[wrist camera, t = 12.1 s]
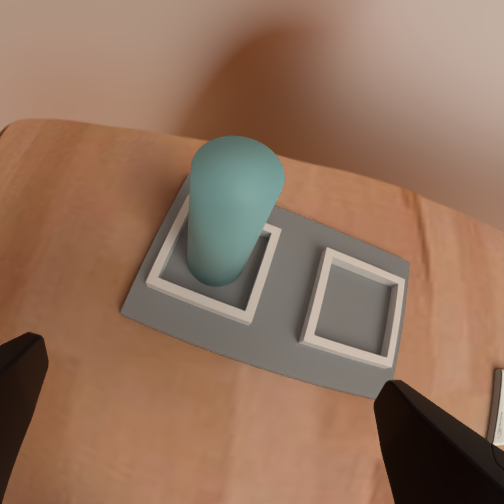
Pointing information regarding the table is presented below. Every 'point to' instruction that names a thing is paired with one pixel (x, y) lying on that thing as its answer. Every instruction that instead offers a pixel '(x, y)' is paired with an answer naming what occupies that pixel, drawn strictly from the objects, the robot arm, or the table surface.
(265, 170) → the pin
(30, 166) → the table surface
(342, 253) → the pin board
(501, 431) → the hard drive
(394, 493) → the robot arm
